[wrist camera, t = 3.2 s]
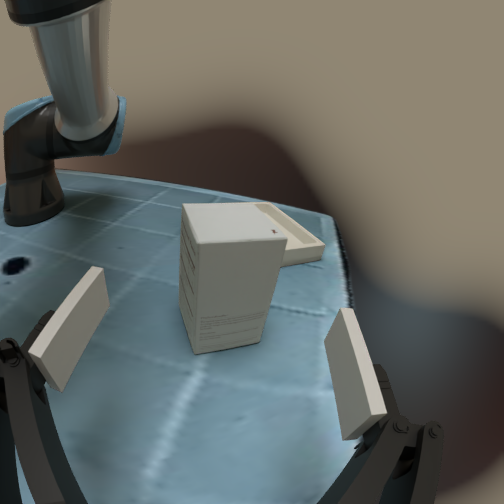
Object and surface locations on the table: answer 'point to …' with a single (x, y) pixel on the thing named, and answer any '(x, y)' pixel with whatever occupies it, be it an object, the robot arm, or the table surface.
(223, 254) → the supplement box
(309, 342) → the table surface
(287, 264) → the tray
